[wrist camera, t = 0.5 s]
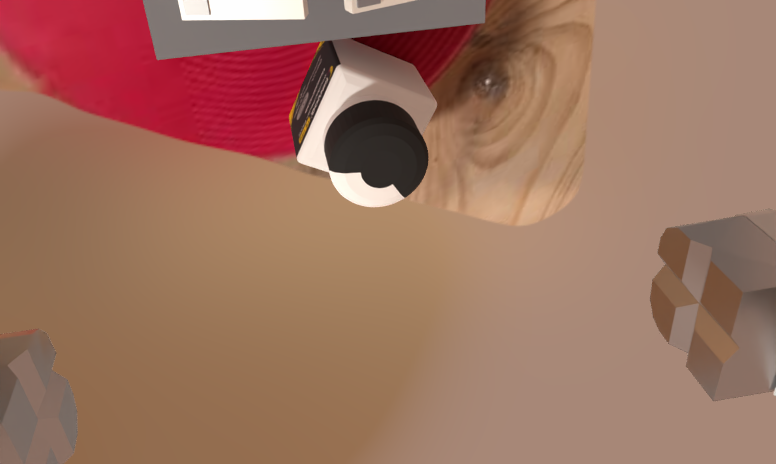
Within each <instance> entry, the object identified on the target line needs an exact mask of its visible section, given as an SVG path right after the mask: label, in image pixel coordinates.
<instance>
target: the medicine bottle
mask: <svg viewBox="0 0 776 464" xmlns="http://www.w3.org/2000/svg"><path fill="white" fill-rule="evenodd" d="M436 108H437V102H436V100H435V98H434V97H433V95H432V93H431V92H430V90H429V89H428V87H427V85H426V84H425V82H424V80H423V79H422V77H421V76H420V74H419V72H418V71H417V69H416V67H415V66H414V65H413V64H411V63H408V62H406V61H403V60H401V59H398V58H396V57H393V56H391V55H388V54H386V53H384V52H381V51H379V50H376V49H374V48H371V47H369V46H366V45H364V44H361V43H359V42H356V41H354V40H352V39H349V38H347V39H338V40H329V41H321V42H320V44H319V46H318V49H317V51H316V53H315V56H314V58H313V61H312V63H311V65H310V68H309V70H308V72H307V75H306V77H305V79H304V82H303V84H302V86H301V89H300V91H299V94H298V96H297V98H296V101H295V103H294V105H293V108H292V110H291V112H290V115H289V120H290V125H291V131H292V136H293V141H294V147H295V152H296V157H297V160H298V162H300V163H302V164H305V165H308V166H311V167H314V168H317V169H320V170H323V171H326V172H329V173H330V177H331V180H332V182H333V184H334V186H335V187H336V189H337V190H338V192H339V193H340V194H341V195H342V196H343V197H345V198H346V199H348V200H349V201H351V202H353V203H355V204H358V205H362V206H367V207H381V206H387V205H390V204H393V203H396V202H398V201H400V200H402V199H404V198H405V197H407V196H408V195H409V194H411V193H412V192H413V191H414V190H415V189H416V188H417V187H418V185H419V184H420V183H421V181H422V179H423V178H424V175H425V173H426V170H427V166H428V150H427V146H426V143H425V141H424V139H423V137H422V135H423V133H424V131H425V129H426V127H427V125H428V123H429V121H430V119H431V117H432V116H433V114H434V112H435V110H436Z"/></svg>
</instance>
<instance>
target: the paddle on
mask: <svg viewBox="0 0 776 464" xmlns="http://www.w3.org/2000/svg"><path fill="white" fill-rule="evenodd" d="M411 1H415V0H344V6H345V10H346V11H348V12H350V13H352V14H355V13H360V12H365V11H369V10H374V9H378V8H383V7H388V6H392V5H397V4H401V3H406V2H411Z"/></svg>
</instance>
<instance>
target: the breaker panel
mask: <svg viewBox="0 0 776 464" xmlns="http://www.w3.org/2000/svg"><path fill="white" fill-rule="evenodd" d="M143 3H144V7H145V11H146V16H147V20H148V24H149V28H150V32H151V37H152V41H153V45H154V49H155V53H156V58H157V60H161V59H169V58H178V57H187V56H196V55H205V54H214V53H223V52H232V51H240V50H249V49H258V48H267V47H276V46H285V45H294V44H303V43H311V42H320V41H329V40H338V39H347V38H356V37H365V36H374V35H383V34H391V33H400V32H409V31H418V30H427V29H436V28H445V27H454V26H462V25H471V24H480V23H485V5H486V0H415V1H411V2H406V3H401V4H397V5H392V6H388V7H383V8H378V9H374V10H369V11H365V12H360V13H355V14H352V13H350V12H348V11H346V10H345V6H344V0H307V3H308V12H309V14H308V15H307V17H306V18H305V19H277V20H182V17H181V12H180V7H179V3H178V0H143Z"/></svg>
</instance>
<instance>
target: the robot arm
mask: <svg viewBox="0 0 776 464" xmlns="http://www.w3.org/2000/svg"><path fill="white" fill-rule="evenodd" d="M658 255H659V256H660V258H661V259H662V260H663V262H664V263H665V265H664V267H663V268H662V269H661V270H660V271H659V272H658V274H657V275H656V276H655V277H654V278H653V280H652V287H651V295H650V302H651V308H652V314H653V318H654V320H655V323H656V325H657V327H658V329H659V331H660V333H661V334H662V335H663V337H664V338H665V339H666V341H667V342H668V344H670V345H672V346H674V347H677V348H678V349H681V350H683V351H685V352H687V353H688V355H687V362H686V367H687V368H688V369H689V371H690V372H691V373H692V375H693V376H694V377H695V378H696V380H697V381H698V382H699V384H700V385H701V386H702V387H703V389H704V390H705V391H706V393H707V394H708V395H709V396H710V398H711V399H712V400H713V401H718V400H724V399H730V398H736V397H742V396H748V395H754V394H760V393H766V392H772V391H774V395H775V396H776V210H772V209H765V210H760V211H755V212H749V213H744V214H739V215H735V216H734V217H729V218H723V219H718V220H712V221H706V222H699V223H693V224H687V225H681V226H675V227H669V228H666V230H665V232H664V233H663V235H662V236H661V238H660V243H659V248H658ZM55 356H56V351H55V349H54V347H53V345H52V343H51V341H50V339H49V337H48V335H47V333H46V332H44V331H42V330H40V329H33V330H26V331H20V332H12V333H5V334H0V464H64V463H65V462H66V461H67V460H68V459H69V458H70V457H71V456H72V454H73V453H74V449H75V444H76V438H77V409H76V404H75V400H74V396H73V392H72V390H71V387H70V385H69V382H68V380H67V379H66V378H64V377H62V376H61V375H59V374H57V373H56V372H54V371H52V367H53V363H54V360H55Z"/></svg>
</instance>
